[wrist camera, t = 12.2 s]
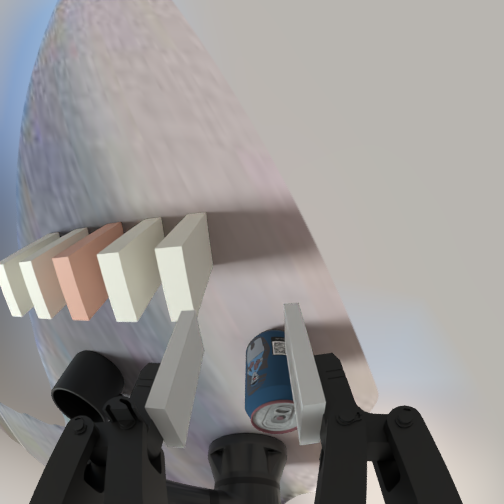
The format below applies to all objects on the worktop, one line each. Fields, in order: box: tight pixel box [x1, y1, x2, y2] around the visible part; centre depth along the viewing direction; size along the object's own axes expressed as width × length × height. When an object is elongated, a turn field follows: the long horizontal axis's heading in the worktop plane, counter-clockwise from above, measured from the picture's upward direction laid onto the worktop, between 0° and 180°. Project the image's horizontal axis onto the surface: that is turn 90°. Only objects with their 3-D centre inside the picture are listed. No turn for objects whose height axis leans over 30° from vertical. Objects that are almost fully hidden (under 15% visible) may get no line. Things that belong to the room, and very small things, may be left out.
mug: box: [51, 351, 124, 423], centre depth 34 cm, size 9×12×9 cm
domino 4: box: [97, 217, 165, 322], centre depth 25 cm, size 2×6×11 cm, turn 5°
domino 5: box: [155, 212, 213, 321], centre depth 25 cm, size 2×6×11 cm, turn 5°
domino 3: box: [52, 222, 124, 321], centre depth 25 cm, size 2×6×11 cm, turn 5°
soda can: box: [245, 330, 298, 434], centre depth 30 cm, size 7×7×12 cm
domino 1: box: [0, 232, 60, 317], centre depth 26 cm, size 2×6×11 cm, turn 5°
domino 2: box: [19, 228, 89, 319], centre depth 25 cm, size 2×6×11 cm, turn 5°
